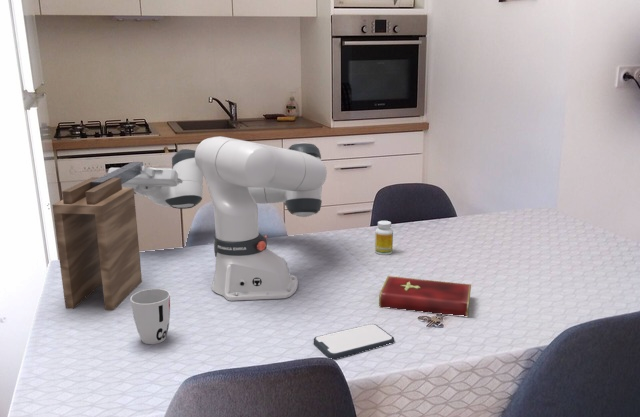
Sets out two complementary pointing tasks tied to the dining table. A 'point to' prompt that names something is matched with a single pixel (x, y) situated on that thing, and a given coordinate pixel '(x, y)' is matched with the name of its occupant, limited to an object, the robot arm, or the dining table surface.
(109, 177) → the bar
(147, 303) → the cup
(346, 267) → the dining table surface
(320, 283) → the dining table surface
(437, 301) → the hardcover book
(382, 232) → the supplement bottle
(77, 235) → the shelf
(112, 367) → the dining table surface
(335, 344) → the smartphone
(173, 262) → the dining table surface
